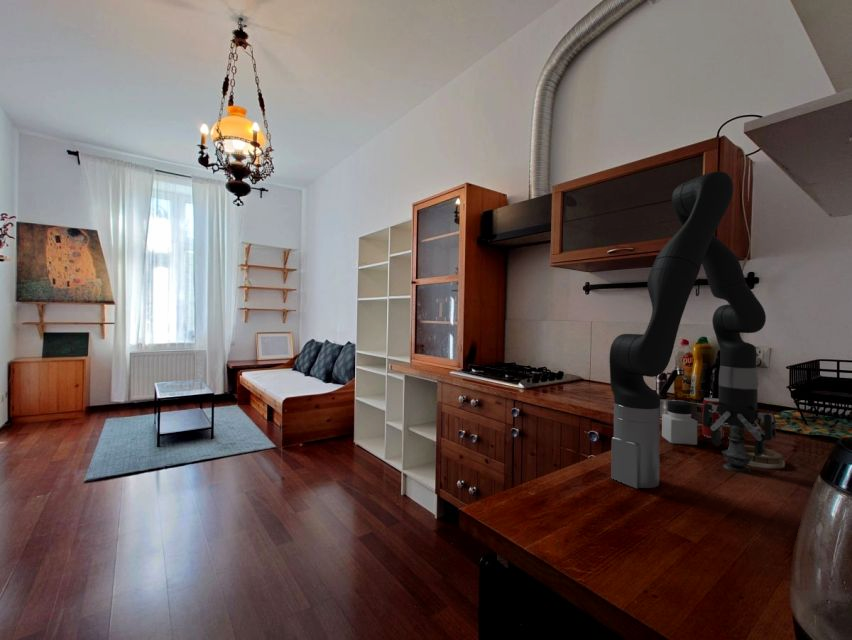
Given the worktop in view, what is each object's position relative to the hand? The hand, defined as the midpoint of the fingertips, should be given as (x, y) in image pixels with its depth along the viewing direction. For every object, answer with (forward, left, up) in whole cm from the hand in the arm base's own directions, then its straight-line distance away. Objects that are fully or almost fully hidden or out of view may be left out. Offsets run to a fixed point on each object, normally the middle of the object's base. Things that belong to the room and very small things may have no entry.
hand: (737, 450), depth 97 cm
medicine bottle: (+11, +19, -5) cm, 22 cm away
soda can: (+25, +16, -5) cm, 30 cm away
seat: (+11, 0, -5) cm, 12 cm away
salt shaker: (0, 0, -5) cm, 5 cm away
